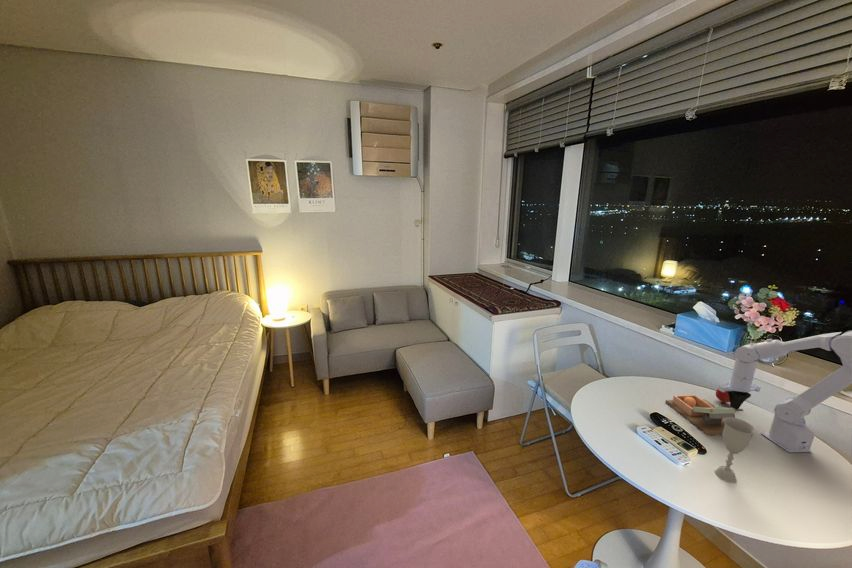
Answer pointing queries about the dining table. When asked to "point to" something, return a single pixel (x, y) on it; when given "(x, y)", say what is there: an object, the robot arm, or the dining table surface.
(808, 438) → the robot arm
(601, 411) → the dining table surface
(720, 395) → the onion
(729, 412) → the tipping tray
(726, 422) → the chalice
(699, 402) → the orange open box
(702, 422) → the base board
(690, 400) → the ball
